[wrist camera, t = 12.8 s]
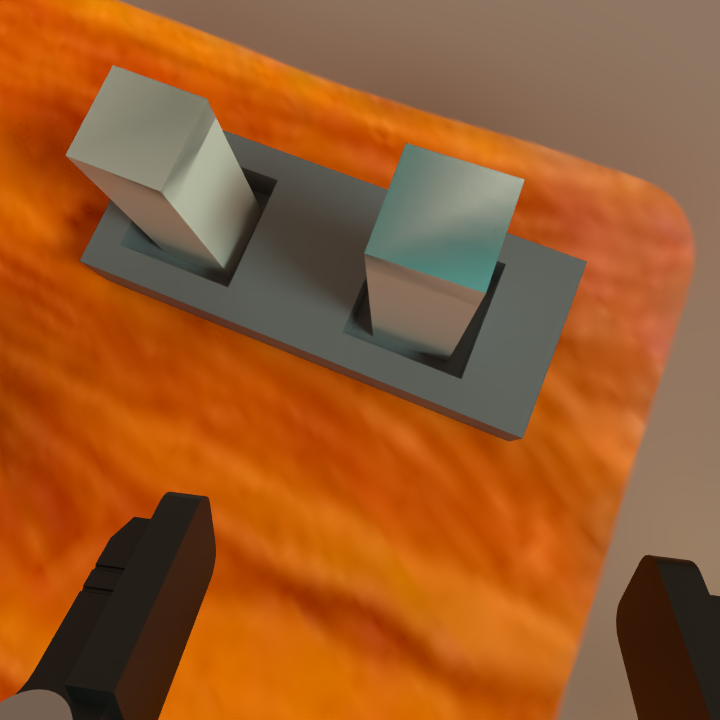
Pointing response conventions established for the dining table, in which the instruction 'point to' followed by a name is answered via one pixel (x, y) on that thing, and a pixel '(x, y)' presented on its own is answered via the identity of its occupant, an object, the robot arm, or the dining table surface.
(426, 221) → the plug
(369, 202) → the two-hole peg board
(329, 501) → the dining table surface
